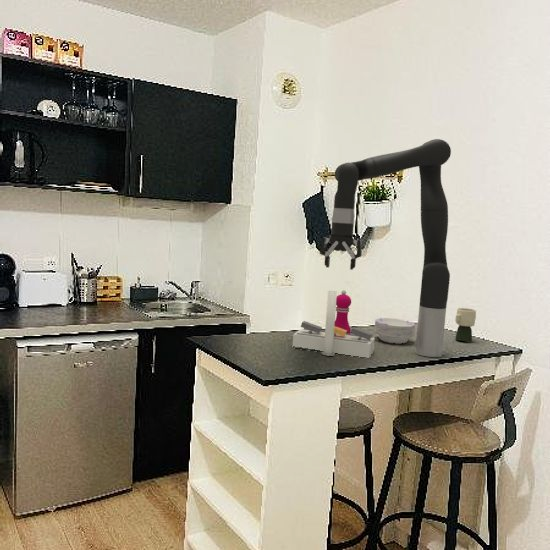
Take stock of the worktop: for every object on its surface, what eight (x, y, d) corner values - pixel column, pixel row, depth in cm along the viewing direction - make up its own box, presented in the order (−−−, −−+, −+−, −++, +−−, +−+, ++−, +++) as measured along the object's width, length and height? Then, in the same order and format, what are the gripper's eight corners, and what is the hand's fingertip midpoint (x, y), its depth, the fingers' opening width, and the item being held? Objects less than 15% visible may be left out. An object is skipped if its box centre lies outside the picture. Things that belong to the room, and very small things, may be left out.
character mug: (465, 338, 230) (469, 307, 229) (479, 342, 224) (483, 310, 223) (447, 340, 225) (450, 308, 224) (460, 344, 219) (463, 311, 217)
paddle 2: (370, 338, 195) (372, 333, 195) (369, 340, 192) (371, 335, 192) (351, 331, 197) (353, 326, 196) (350, 333, 194) (351, 328, 194)
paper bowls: (421, 345, 213) (423, 324, 212) (387, 346, 208) (389, 325, 207) (398, 336, 227) (400, 316, 226) (366, 337, 222) (367, 317, 221)
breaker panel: (373, 351, 199) (374, 336, 198) (368, 358, 189) (370, 342, 188) (301, 341, 208) (302, 326, 207) (292, 348, 197) (293, 332, 196)
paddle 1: (320, 332, 200) (322, 327, 200) (318, 333, 198) (320, 328, 197) (302, 325, 202) (304, 320, 202) (300, 326, 200) (302, 322, 199)
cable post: (335, 354, 192) (340, 291, 189) (332, 357, 187) (337, 293, 185) (323, 353, 193) (327, 290, 190) (320, 355, 189) (324, 291, 186)
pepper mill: (343, 346, 204) (347, 292, 202) (326, 342, 208) (330, 289, 206) (353, 343, 210) (357, 290, 207) (336, 339, 214) (340, 288, 212)
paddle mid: (345, 335, 198) (347, 330, 197) (343, 336, 195) (345, 332, 195) (327, 328, 200) (328, 323, 199) (325, 330, 197) (326, 325, 197)
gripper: (365, 223, 194) (361, 269, 196) (325, 220, 199) (322, 265, 200) (361, 223, 187) (357, 271, 189) (320, 220, 191) (317, 267, 193)
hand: (339, 268), depth 195 cm, fingers open, 8 cm apart
